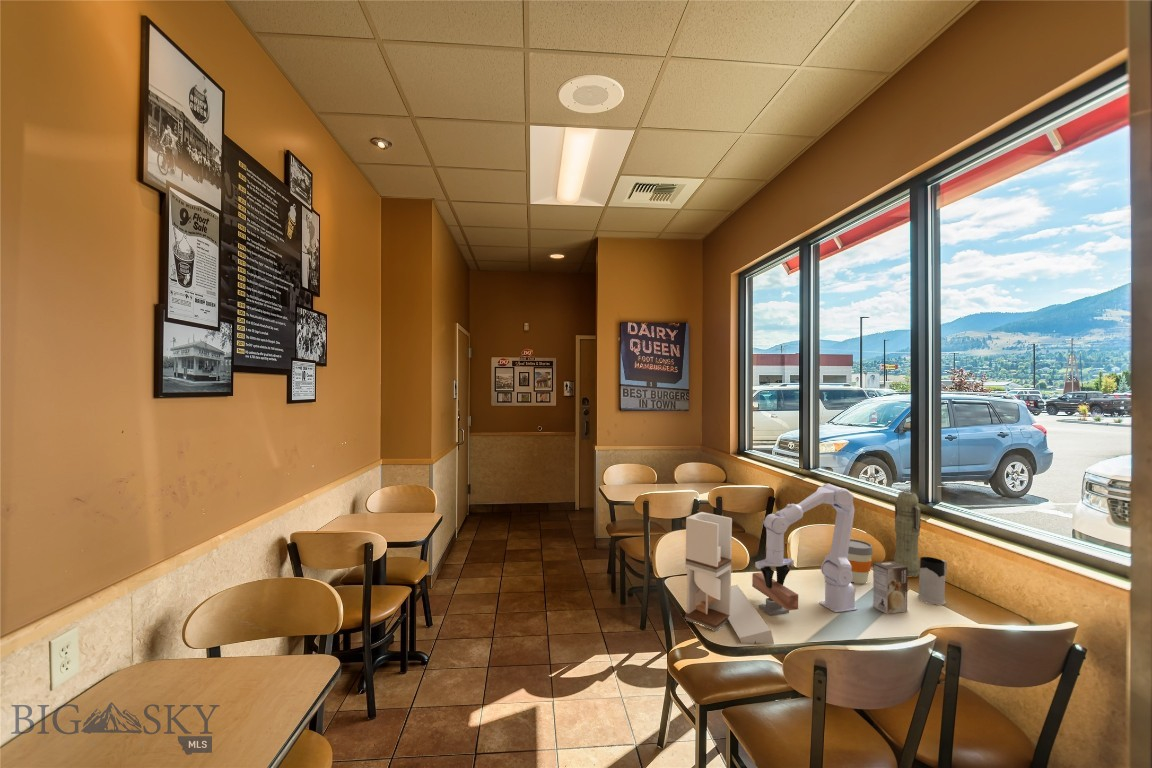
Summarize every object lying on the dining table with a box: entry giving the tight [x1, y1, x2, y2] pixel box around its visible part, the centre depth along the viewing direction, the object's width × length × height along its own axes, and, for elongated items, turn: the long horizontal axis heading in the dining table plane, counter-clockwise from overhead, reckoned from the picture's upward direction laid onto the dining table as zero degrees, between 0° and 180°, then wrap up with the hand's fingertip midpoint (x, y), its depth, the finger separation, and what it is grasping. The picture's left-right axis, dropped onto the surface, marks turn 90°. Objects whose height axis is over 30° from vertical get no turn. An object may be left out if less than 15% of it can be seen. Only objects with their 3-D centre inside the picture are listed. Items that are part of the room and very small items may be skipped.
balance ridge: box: [758, 597, 790, 616], centre depth 176 cm, size 8×6×4 cm
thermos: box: [893, 491, 922, 577], centre depth 212 cm, size 9×12×35 cm
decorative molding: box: [728, 584, 775, 645], centre depth 171 cm, size 34×5×10 cm
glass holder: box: [917, 556, 948, 606], centre depth 188 cm, size 9×14×15 cm, turn 117°
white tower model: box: [684, 511, 733, 632], centre depth 168 cm, size 11×11×35 cm
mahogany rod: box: [751, 571, 799, 612], centre depth 176 cm, size 4×20×5 cm, turn 15°
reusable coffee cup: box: [847, 538, 874, 584], centre depth 205 cm, size 13×12×15 cm
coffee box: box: [872, 560, 908, 615], centre depth 178 cm, size 9×6×16 cm
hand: (774, 586), depth 176 cm, fingers closed on mahogany rod, 4 cm apart
